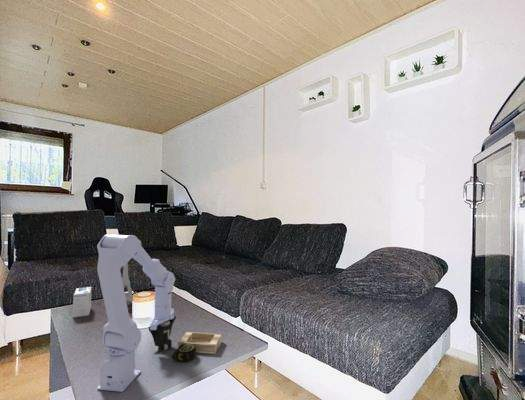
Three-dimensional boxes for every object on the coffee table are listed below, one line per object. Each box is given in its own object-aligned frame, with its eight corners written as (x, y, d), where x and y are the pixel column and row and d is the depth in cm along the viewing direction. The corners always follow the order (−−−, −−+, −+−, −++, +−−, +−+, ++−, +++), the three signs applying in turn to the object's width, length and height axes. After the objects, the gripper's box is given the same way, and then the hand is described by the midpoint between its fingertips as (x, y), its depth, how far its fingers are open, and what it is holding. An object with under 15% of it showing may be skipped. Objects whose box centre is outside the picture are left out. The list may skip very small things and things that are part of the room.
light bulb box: (75, 309, 137) (75, 288, 137) (91, 307, 140) (91, 286, 141) (72, 318, 128) (72, 294, 128) (89, 315, 131) (90, 292, 131)
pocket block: (215, 353, 99) (215, 345, 99) (177, 350, 101) (177, 342, 101) (221, 341, 107) (221, 334, 108) (186, 339, 109) (187, 331, 109)
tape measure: (181, 351, 100) (181, 341, 100) (198, 353, 99) (199, 343, 99) (171, 362, 94) (171, 351, 94) (190, 364, 92) (190, 353, 92)
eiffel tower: (110, 313, 134) (111, 250, 134) (110, 304, 146) (111, 246, 146) (140, 308, 141) (141, 249, 141) (138, 300, 152) (138, 245, 152)
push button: (157, 355, 97) (157, 327, 98) (150, 349, 101) (150, 322, 101) (174, 348, 102) (174, 321, 102) (167, 343, 106) (167, 316, 106)
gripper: (164, 312, 94) (163, 352, 94) (181, 297, 109) (181, 332, 108) (144, 311, 95) (144, 350, 95) (164, 296, 109) (164, 331, 109)
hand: (162, 341), depth 102 cm, fingers open, 6 cm apart
